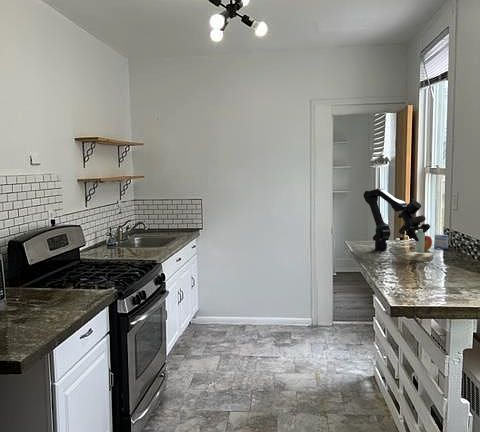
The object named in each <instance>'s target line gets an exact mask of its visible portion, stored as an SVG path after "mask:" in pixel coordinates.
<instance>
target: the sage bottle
mask: <svg viewBox="0 0 480 432" xmlns="http://www.w3.org/2000/svg"><path fill="white" fill-rule="evenodd" d="M415 234H416V236H417V238H418V240H419V241H418V242H417V241H416V240H414V246H415V247H414V252H418V253H425V251H424V246H425V236H426V232H425V233H424V232H423V229H418V231H415Z"/></svg>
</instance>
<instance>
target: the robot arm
mask: <svg viewBox="0 0 480 432" xmlns="http://www.w3.org/2000/svg"><path fill="white" fill-rule="evenodd" d="M379 198H381V199H383V200H384V201H385V202H387V203H388V204H389V205H390V206H391V208H392V210H393V211H394V212H397V213H398V212H399V213H398V216H397V218H399V219H402V220H403V222H404V223H403V225H401V227H400V228H399V229H398V233H399V235H401V236H402V235H405V236H407V237H409V238H411V239H413V240H414V241H415V240H416V241H417V242H418V241H419V240H418V238H417V236H416V232H418V229H423V232H424V233H425V234H426V233H427V232H428V230H429V229H430V228H431V225H430V224H429V223H423V222H425V221H426V219H427V218H426V216H425V215H424V214H422V215H416V216H413V215H415V214H416V213H417V212H418V211H419V210H420V209H421V208H422V204H421V203H420V202H419V201H416V200H415V199H411V200H410V201H409V202H408V203H407V202H405V201H404V200H402V199H398V198H396V197H394V196H393V195H392V194H390V193H389V192H388V191H387V190H385V189H384V188H382V187H381V188H375V189H371V190H366V191H364V192H363V199H364V200H365V202H366V203H367V204H368V205H369V207H370V212H371V214H372V216H373V220H374V223H375V233H374V235H373V236H372V240H373V241H374V249H373V251H382V252H386V251H388V242H387V241H389V239H390V236H392V235H391V229H390V226H389V224H388V225H387V224H385V222H384V218H383V216H382V213H381V210H380V207H379V205H378V200H379ZM421 223H422V224H421ZM426 236H427V235H425V241H426Z"/></svg>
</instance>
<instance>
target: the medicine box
mask: <svg viewBox="0 0 480 432" xmlns="http://www.w3.org/2000/svg"><path fill="white" fill-rule="evenodd" d="M448 247H449V234H448V235H447V234H434V243H433V248H434V249H437V248H442V249H441V250H448Z"/></svg>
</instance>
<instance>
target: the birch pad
mask: <svg viewBox="0 0 480 432" xmlns="http://www.w3.org/2000/svg"><path fill="white" fill-rule="evenodd" d="M404 257H405V258H404V259H405V260H409V261H417V262H418V261H420V262H429V261H430V262H431V261H433V259H434V253H431V252H424V253H418V252H415V251H408V252H407V253H406V254H405V256H404Z"/></svg>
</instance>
